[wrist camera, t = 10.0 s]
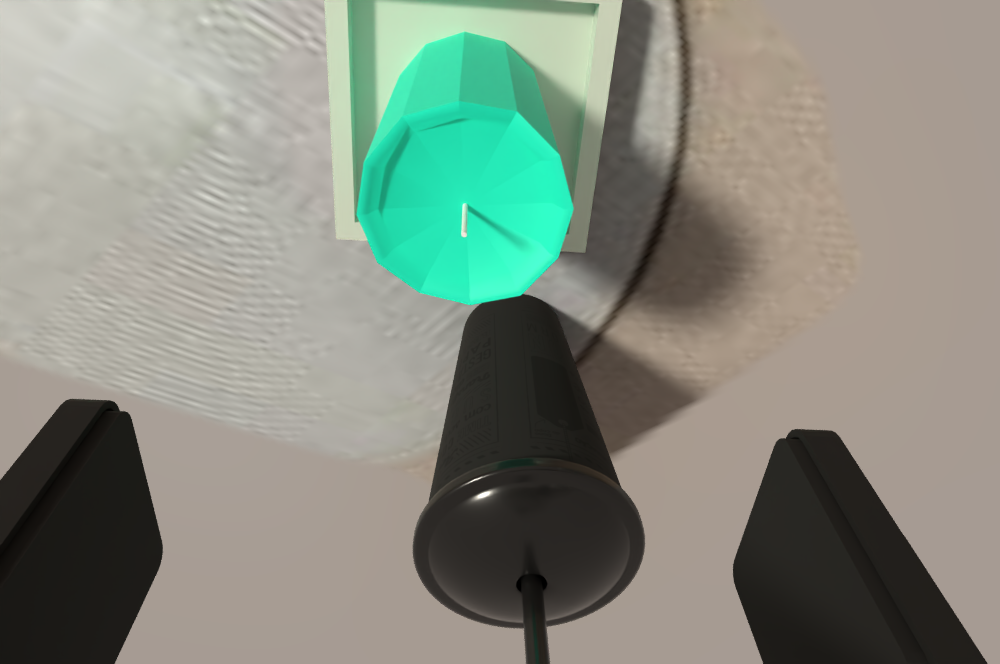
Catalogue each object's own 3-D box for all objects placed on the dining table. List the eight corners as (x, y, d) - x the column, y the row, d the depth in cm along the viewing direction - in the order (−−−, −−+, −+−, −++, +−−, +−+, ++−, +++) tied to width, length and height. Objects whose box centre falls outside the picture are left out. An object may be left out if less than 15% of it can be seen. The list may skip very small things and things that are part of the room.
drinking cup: (407, 297, 34) (339, 706, 17) (561, 243, 33) (654, 625, 16) (468, 416, 38) (462, 848, 21) (608, 372, 37) (723, 792, 20)
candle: (570, 135, 30) (620, 267, 19) (447, 209, 31) (433, 367, 21) (492, -2, 27) (502, 67, 17) (362, 87, 28) (297, 199, 18)
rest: (616, -25, 27) (625, -20, 26) (580, 235, 33) (585, 252, 31) (331, -47, 27) (322, -44, 25) (342, 222, 32) (336, 239, 31)
